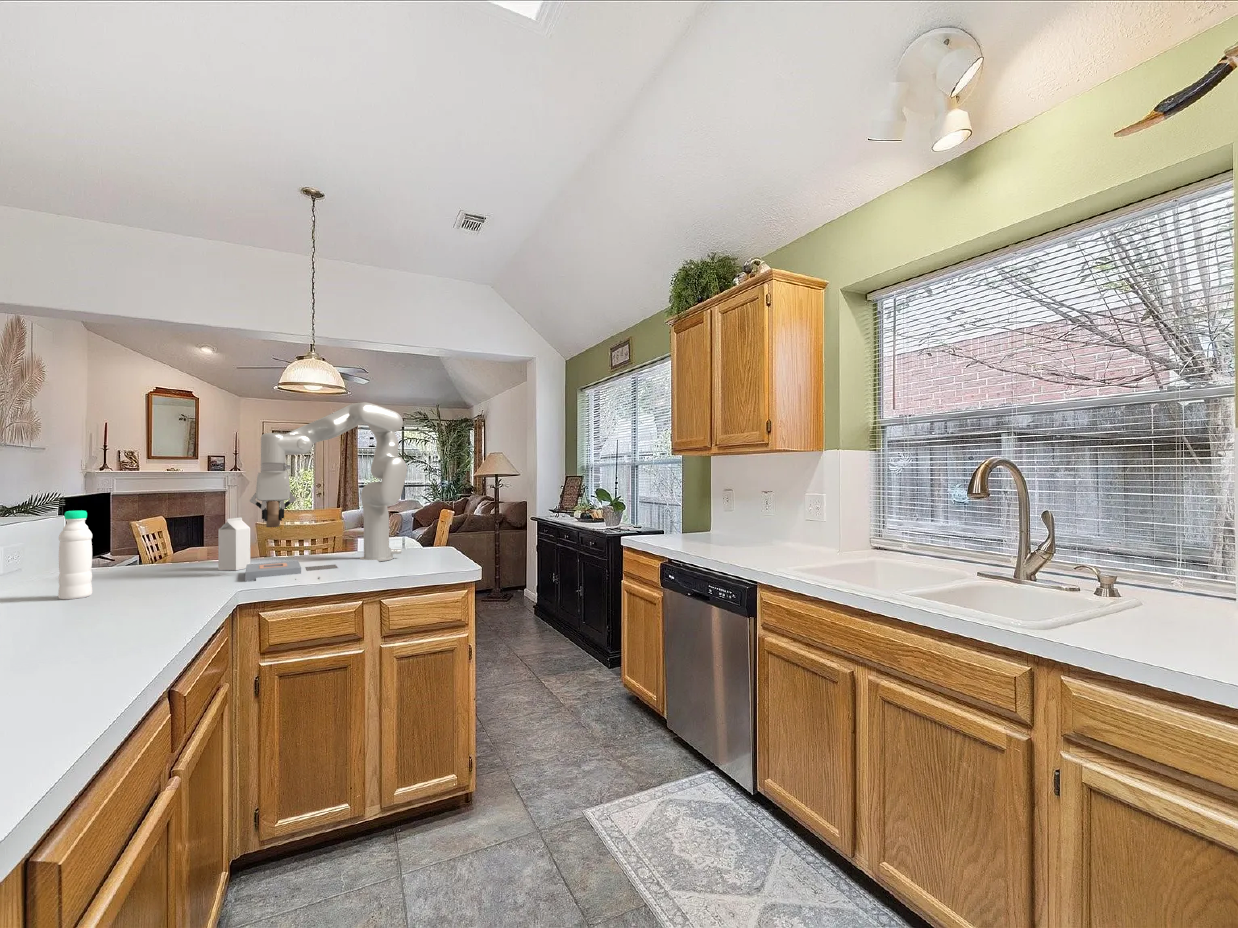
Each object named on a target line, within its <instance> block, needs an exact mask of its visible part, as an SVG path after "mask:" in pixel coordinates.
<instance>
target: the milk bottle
mask: <svg viewBox="0 0 1238 928" xmlns="http://www.w3.org/2000/svg"><path fill="white" fill-rule="evenodd" d="M87 518H88V512H87V510H68V511H65V512H64V519H65V521H66V524H65V526H63V528H62V530H61V532H60V533H59V536H58V541H59V545H58V570H59V575H58V592H57V593H58V594H57V595H58V598H59V599H60V600H65V601H66V600H77V599H83V598H88V597H90V596H91V595H92V594H93V585H92V581H93V580H92V579H93V573H92V572H93V571H92V567H93V545H92V544H93V542H92V539H93V533H92V531H91V530H90V529H89V526H88V525H87V524H86V520H87Z"/></svg>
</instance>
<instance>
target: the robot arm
mask: <svg viewBox="0 0 1238 928" xmlns="http://www.w3.org/2000/svg"><path fill="white" fill-rule="evenodd" d="M361 425H367V426H368V428H369V430H370V431H371V433H372V434H373V436H374V438H375V441H376V446H375V452H374V453H373V455H374V456H373V459H372V463H371V467H370V473H371V475H372V477H374V478H376V479H377V480H378V479H379V480H381V481H373V482H372V481H370V482H368V483H366V484H365V485H364V486H363V487H362V489H361V493H360V496H361V497H360V499H361V500H360V501H361V504H362V512H363V556H360V557H359V560H363V561H377V562H386V561H387V562H388V561H391V560H393V559H394V555H395V554H396V555H398V554H399V555H401V554H402V553H403V552H402V548H394V549H393V548H391V547H390V512H389V508H388V507H390V506H393V505H396V504H397V503H398V502H399V501H400V499H401V497H402V494H403V489H404V486H405V481H406V477H407V474H408V473H407V471H408V470H407V469H408V467H407V464H406V461H405V460H404V459H403V458H402V457H401V456H399V455H398V453H399V452H398V451H399V440H398V437H397V434H396V433H397V432H399V431H400V430H401V429H402V427H403V425H404V420H403V417H402V416H401V415H400V413H398V412H397V411H395V410H392V409H389V408H386V407H384V406H380V405H377V404H375V403H371V402H367V401H364V402H363V401H362V402H357V403H351V404H348V405H347V406H344V407H342V408H341V409H338V410H336V411H334V412H332V413H329V414H328V415H326V416H324V417H321V418H318V419H316V420H314V421H311V422H310V423H307V424H305V425H302V426H300V427H298V428H296V429H293V430H290V431H289V432H287V433H285V434H282V433H280V432H279V433H274V432H269V433H268V432H266V433H263V434H262V435H261V436H260V472H257V477H256V484H255V485H256V486H255V489H256V490H255V493H254V494H253V495H252V496H251V498H250V499H249V502H250V503H251V504H254V505H255V506H257V507H258V508H259V509H261V520H263V521H264V522H266V521H267V510H266V502H267V501H280V522H282V521H283V519H285V509H286V508H287V507H288V506H289V505H291V504H292V503H294V502H295V501H297V499H296V497H295V496H294V495H293V493H292V492H291V487H290V485H291V484H290V477H289V472H287V470H290V469H291V464H290V465H288V464H287V459H286V457H287V456H295V455H296V456H298V455H299V456H301V455H304V454H308V452H310V451H311V450H312V447H313V444H315V443H320V442H323V441H328V440H332V439H335V438H337V437H339V436H341V435H343V434H344V433H347V432H349V431H351V430H352V429H354V428H356V427H358V426H361ZM259 501H260V502H259ZM261 502H262V503H261Z"/></svg>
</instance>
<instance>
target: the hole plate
mask: <svg viewBox="0 0 1238 928" xmlns="http://www.w3.org/2000/svg"><path fill="white" fill-rule="evenodd" d="M301 566H302V565H301V564H300V561H299V560H287V561H275V562H263V563H262V562H261V563H250V564H247V566H246V568H245V571H244V573H245V575H244V578H245V579H244V581H245V582H256V581H257V578H268V577H278V576H288V575H289V576H291V575H300V574H301V575H302V567H301Z"/></svg>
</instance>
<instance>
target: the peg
mask: <svg viewBox="0 0 1238 928" xmlns="http://www.w3.org/2000/svg"><path fill="white" fill-rule="evenodd" d="M280 507H281V505H280V501H267V502H266V506H265V508H266V510H267V521H265V526H266V527H265V528H279V527H280V526H281V523H280V522H281V521H280Z"/></svg>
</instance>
